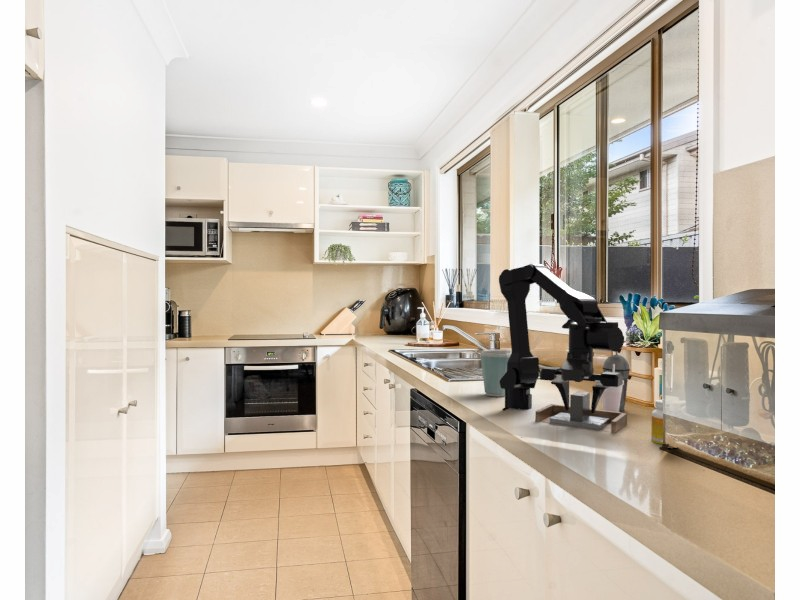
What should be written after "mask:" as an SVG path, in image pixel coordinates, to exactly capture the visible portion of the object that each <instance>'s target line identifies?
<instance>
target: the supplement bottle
mask: <svg viewBox="0 0 800 600" xmlns="http://www.w3.org/2000/svg"><path fill="white" fill-rule="evenodd" d="M662 400H663V399H655V401H654V402H655V404H654V405H655V409H654V410H652V411H651V432H650V433H651V435H650V437H651V438H650V440H651V442H653V443H654V444H658V445H663V402H662Z"/></svg>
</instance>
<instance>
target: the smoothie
mask: <svg viewBox="0 0 800 600" xmlns="http://www.w3.org/2000/svg"><path fill="white" fill-rule="evenodd" d="M613 372H615V364H613ZM623 385H624V381H623V384H622V385H620V386H619V387H609V388H607V389H605V390H604V392H603V394H602V395H601V397H600V398H601V403H602V404H601V405H602V410H604V411H612V412H620V411H619V408H620V401H621V394H622V387H623Z"/></svg>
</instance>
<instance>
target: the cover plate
mask: <svg viewBox="0 0 800 600" xmlns="http://www.w3.org/2000/svg"><path fill="white" fill-rule="evenodd" d="M590 397H591V392H587V391H576V392H574V393H571V394H569V406H570V413H565V412H561V413H559V414H557V415H555V416H553V417H551V418H550V423H553V424H552V425H557V424H560V425H559V426H564V425H567V426H566V427H571V426H574V427H573V428H578V427H581V428H580V429H585V428H588V429H587V430H592V429H595V430H594V431H599V430H601V429H603V428H604V427H605V426H607V425H608V424H609V423H610V418H604V417H596V416H589V415H590V409H591V407H590V404H591V403H590V401H591V398H590ZM550 423H549V424H550Z"/></svg>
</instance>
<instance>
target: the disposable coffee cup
mask: <svg viewBox="0 0 800 600" xmlns="http://www.w3.org/2000/svg"><path fill="white" fill-rule="evenodd" d="M511 353H512V349H511V348H510V349H509V348H507V349H484V350H482V351H480V353H479V354H480V355H479V356H480V360H481V361H480V362H481V363H480V364H481V370H482V378H483V386H484V393H485V395H486V396H489V397H496V398H497V397H505V389H502V388H501V386H500V382H499V381H500V379H501V378H502V377H503V376H504V375H505V373H506V372H507V362H508V360H509V358H510V355H511Z"/></svg>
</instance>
